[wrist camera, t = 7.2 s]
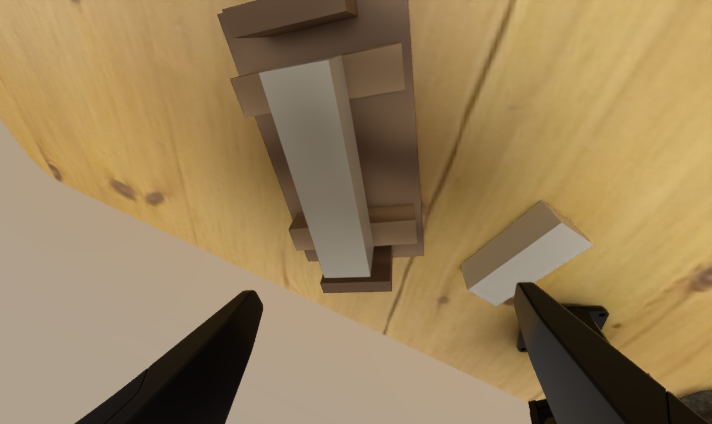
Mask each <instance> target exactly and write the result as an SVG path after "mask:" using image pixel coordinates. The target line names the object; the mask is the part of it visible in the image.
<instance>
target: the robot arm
mask: <svg viewBox="0 0 712 424" xmlns="http://www.w3.org/2000/svg"><path fill="white" fill-rule="evenodd" d="M514 307H515V311H516V314H517V317H518V321H519V324H520V328H521V329H520V333H519V337H518V342H517V349H518V351H520V352H528V354H529V357H530V360H531V363H532V365H533V368H534V370H535V372H536V375H537V377H538V380H539V382H540V384H541V387H542V389H543V391H544V394H545V396H546V399H543V400H538V401H535V400H533V401H529V402H528V404H529V408H530V417H531V421H532V424H710V423H709V422H707V421H706V420H705V419H703V418H702V417H701V416H700V415H698V414H697V413H696V412H694V411H693V410H692V409H691V408H689V407H688V406H687V405H686V404H684V403H683V402H682V401H681V400H679V399H678V398H677V397H676V396H674V395H673V394H672V393H671V392H668V391H667V392H666V389H665V388H664V387H663V386H662V385H660V384H659V383H658V382H657V381H655V380H654V379H653V378H652V377H651V376H650V375H649V374H648V373H645V372H644V371H643V370H642V369H640V368H639V367H638V366H637V365H635V364H634V363H633V362H632V361H630V360H629V359H628V358H627V357H626V356H624V355H623V354H622V353H621V352H619V351H618V350H617V349H616V348H614V347H613V346H612V345H611V344H610V343H609V341H608V340H607V338H606V337H605V336H604V334H603V333H602V331H601V330H602V327H603V325H604V323H605V321H606V319H607V317H608V315H609V313H608V312H607V310H606V309H605V308H602V307H589V308H564V307H563V306H562V305H561V304H559V303H558V302H557V301H556V300H554V299H553V298H552V297H551V296H549V295H548V294H547V293H546V292H544V291H543V290H542V289H541V288H539V287H538V286H537V285H536V284H534V283H533V282H518V283H517V284H516V289H515V295H514ZM262 312H263V304H262V302H261V300H260V298H259V297H258V295H257V293H256V292H255V291H254V290H245V291H242V292H241V293H240V294H239V295H237V296H236V297H235V298H234V299H232V300H231V301H230V302H229V303H227V304H226V305H225V306H224V307H223V308H221V309H220V310H219V311H218V312H216V313H215V314H214V315H213V316H212V317H210V318H209V319H208V320H206V321H205V322H204V323H203V324H202V325H200V326H199V327H198V328H197V329H195V330H194V331H193V332H192V333H190V334H189V335H188V336H187V337H186V338H184V339H183V340H182V341H180V342H179V343H178V344H177V345H175V346H174V347H173V348H172V349H171V350H169V351H168V352H167V353H166V354H165V355H163V356H162V357H161V358H160V359H158V360H157V361H156V362H154V363H153V364H152V365H151V366H150V367H149V368H148V369H146V370H145V371H143V372H142V373H141V374H140V375H138V376H137V377H136V378H135V379H133V380H132V381H131V382H129V383H128V384H127V385H126V386H124V387H123V388H122V389H121V390H119V391H118V392H117V393H115V394H114V395H113V396H111V397H110V398H109V399H107V400H106V401H105V402H103V403H102V404H101V405H99V406H98V407H97V408H95V409H94V410H93V411H91V412H90V413H88V414H87V415H86V416H84V417H83V418H82V419H80V420H79V421H78V422H76V423H75V424H225V422H226V419H227V417H228V414H229V411H230V409H231V406H232V403H233V401H234V398H235V395H236V393H237V390H238V387H239V385H240V382H241V379H242V376H243V374H244V371H245V368H246V366H247V363H248V360H249V358H250V355H251V352H252V348H253V346H254V342H255V338H256V334H257V331H258V327H259V323H260V320H261V316H262Z"/></svg>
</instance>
